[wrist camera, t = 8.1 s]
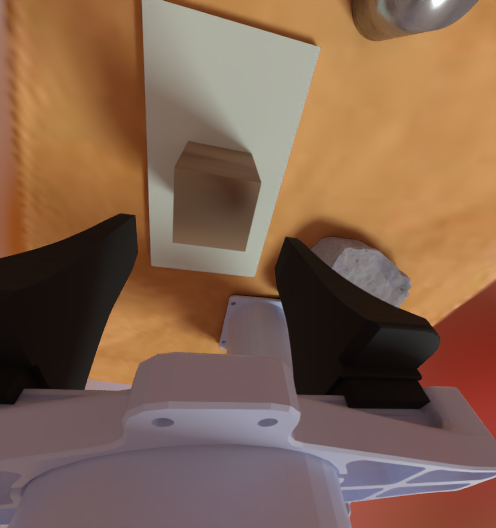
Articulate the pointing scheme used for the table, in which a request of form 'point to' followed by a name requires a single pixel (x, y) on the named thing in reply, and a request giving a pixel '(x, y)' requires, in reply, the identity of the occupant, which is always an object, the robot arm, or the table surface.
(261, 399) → the robot arm
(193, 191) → the walnut block
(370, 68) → the table surface
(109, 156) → the table surface
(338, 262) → the stone block
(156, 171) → the sage mat
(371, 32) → the steel cylinder
